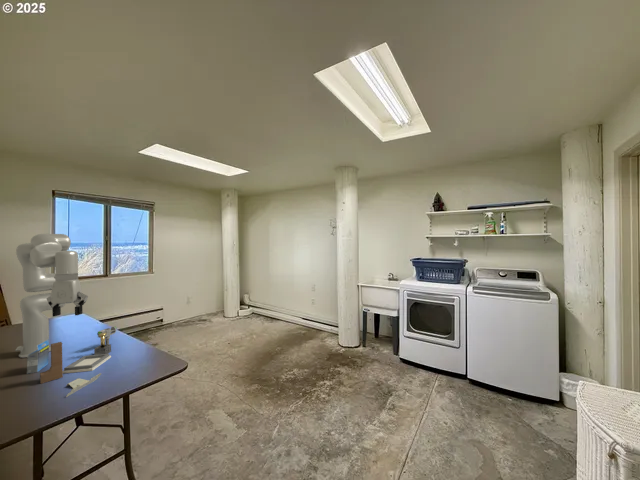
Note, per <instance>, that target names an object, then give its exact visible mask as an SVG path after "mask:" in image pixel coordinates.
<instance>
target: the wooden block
mask: <svg viewBox="0 0 640 480" xmlns="http://www.w3.org/2000/svg"><path fill="white" fill-rule="evenodd" d="M50 346H51V351H50V367H49V369H47V370H45V371H42V372H40V373H39V382H40V384H41V385H42V384H46V383H48V382H51V381H55V380H58V379H62V378H63V376H64V375H63V372H62V371H63V343H62V341H58V342H54V343H51V344H50Z"/></svg>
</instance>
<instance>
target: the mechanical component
mask: <svg viewBox="0 0 640 480" xmlns="http://www.w3.org/2000/svg"><path fill="white" fill-rule="evenodd" d="M100 333H107V335H105V345H107V344H110V339H111V336H112V335H114V334H116V333H117V327H116V326H111V328H110V327H108V328H104V329H101V330H99V331H97V338H99V339H100V336H99V334H100Z"/></svg>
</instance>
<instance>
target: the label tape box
mask: <svg viewBox="0 0 640 480" xmlns="http://www.w3.org/2000/svg"><path fill="white" fill-rule="evenodd" d="M43 344H45V345H44V346H43V347H42V345H43ZM49 346H50V339H49V340H46V341H45V342H43V343H41V344H39V345H37V348H38V350H36V351H34V352H33V353H31V354H29V355H28V356H27V357H26V358H27V359H26V362H27V364H26V374H35V373H39V372H40V371H41V370H42V369H44V368H45V367H46V366H48V365H49V357H50V356H49V355H50V354H49V352H50V351H49Z"/></svg>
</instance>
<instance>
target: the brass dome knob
mask: <svg viewBox="0 0 640 480" xmlns="http://www.w3.org/2000/svg"><path fill="white" fill-rule="evenodd" d="M105 335H107V333H100V334H99V336H100V338H99V339H100V345H101V347H104V346H105V345H106V342H105Z"/></svg>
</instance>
